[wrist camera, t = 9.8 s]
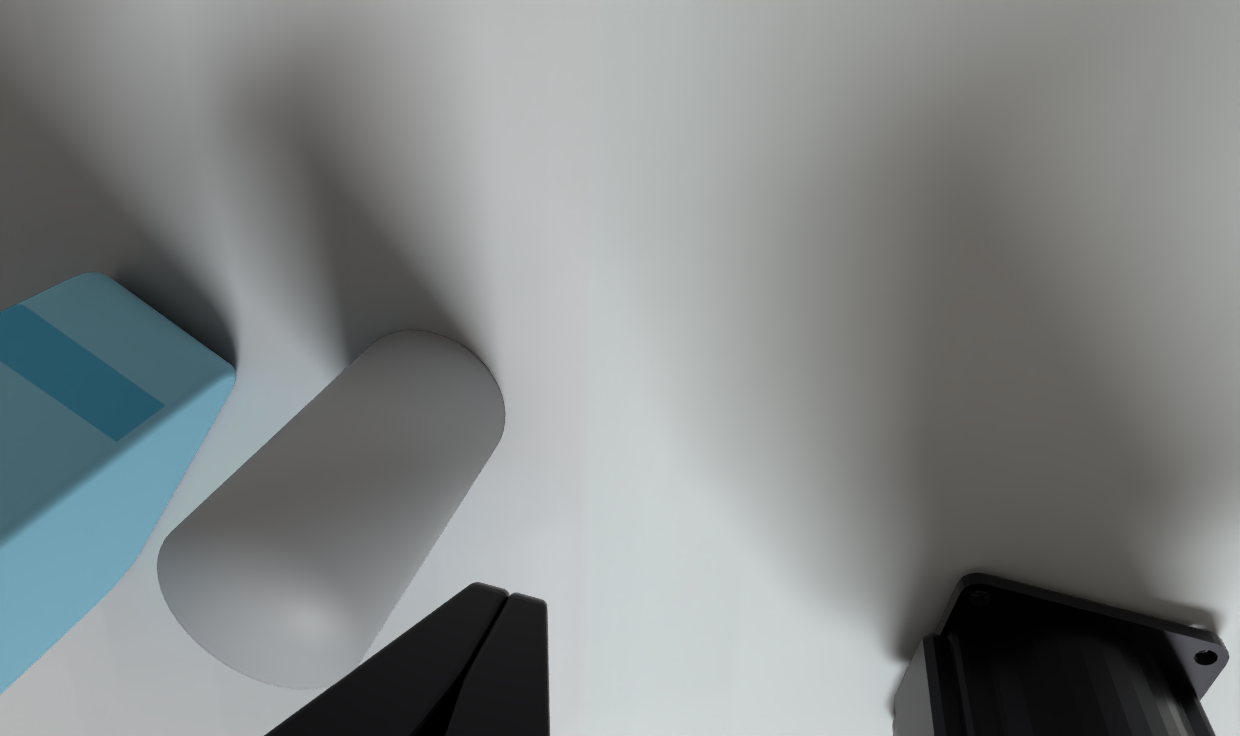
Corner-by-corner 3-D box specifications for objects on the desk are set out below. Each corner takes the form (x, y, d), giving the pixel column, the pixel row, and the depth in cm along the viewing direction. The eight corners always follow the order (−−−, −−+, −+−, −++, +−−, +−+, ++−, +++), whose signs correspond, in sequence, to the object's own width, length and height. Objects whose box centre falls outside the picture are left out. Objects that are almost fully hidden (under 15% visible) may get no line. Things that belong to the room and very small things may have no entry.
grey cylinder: (511, 352, 22) (365, 552, 15) (499, 485, 24) (365, 713, 17) (354, 313, 23) (143, 490, 16) (355, 448, 25) (170, 654, 18)
